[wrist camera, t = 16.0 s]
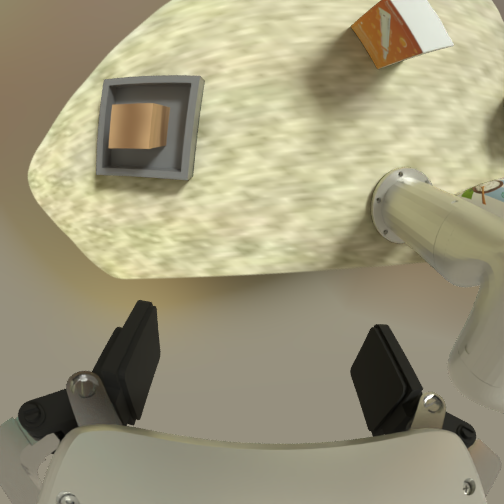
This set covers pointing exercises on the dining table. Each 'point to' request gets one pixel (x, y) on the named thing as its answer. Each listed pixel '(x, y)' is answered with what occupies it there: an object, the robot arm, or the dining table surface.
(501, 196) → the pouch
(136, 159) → the tray
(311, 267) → the dining table surface
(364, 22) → the small box
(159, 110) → the wooden block
